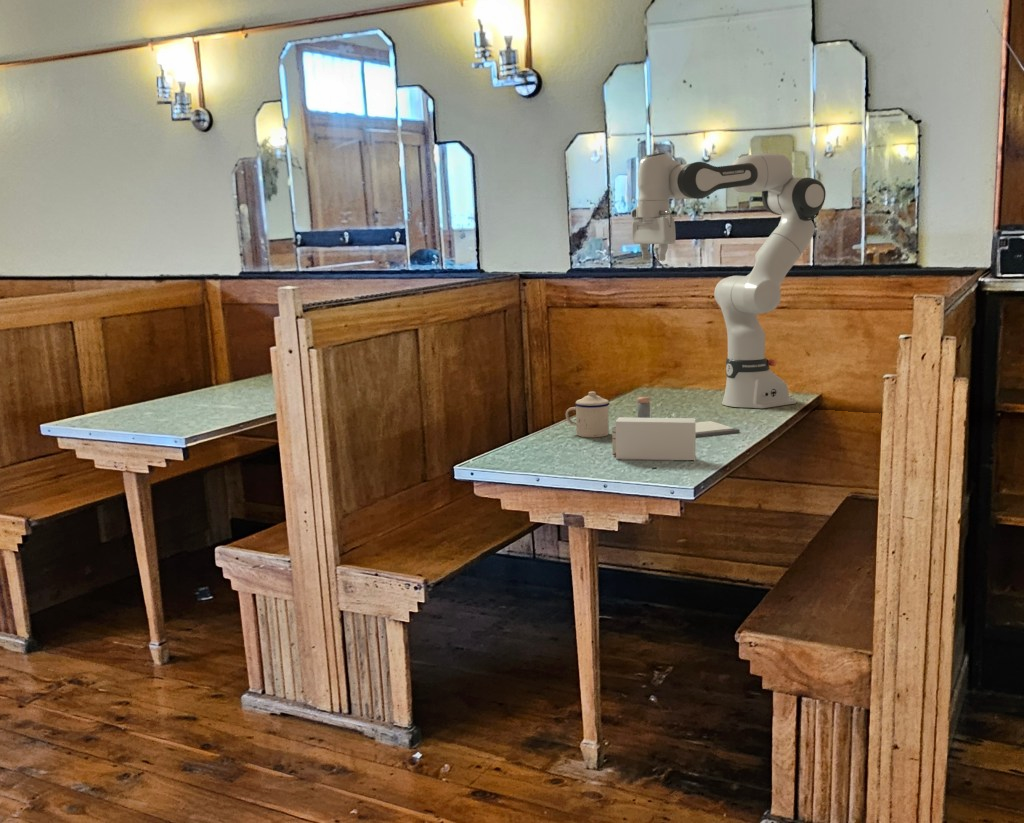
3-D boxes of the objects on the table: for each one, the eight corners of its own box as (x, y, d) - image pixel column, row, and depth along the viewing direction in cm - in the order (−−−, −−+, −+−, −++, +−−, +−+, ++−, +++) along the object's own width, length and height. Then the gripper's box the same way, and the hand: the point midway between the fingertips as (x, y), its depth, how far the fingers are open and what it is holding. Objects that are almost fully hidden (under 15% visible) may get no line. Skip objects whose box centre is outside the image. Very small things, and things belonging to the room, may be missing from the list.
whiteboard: (712, 423, 292) (712, 420, 291) (739, 432, 279) (739, 428, 278) (631, 432, 283) (631, 428, 283) (655, 441, 270) (655, 437, 270)
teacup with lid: (613, 432, 284) (613, 389, 282) (604, 438, 276) (604, 394, 274) (571, 430, 288) (570, 388, 286) (561, 436, 280) (560, 393, 278)
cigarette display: (696, 456, 252) (696, 418, 250) (695, 461, 246) (695, 422, 245) (613, 455, 256) (613, 417, 255) (610, 460, 251) (610, 421, 249)
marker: (646, 422, 297) (646, 396, 295) (652, 424, 293) (652, 398, 292) (635, 423, 295) (635, 397, 294) (641, 425, 292) (640, 399, 291)
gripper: (681, 210, 290) (681, 260, 293) (647, 212, 309) (647, 259, 312) (661, 210, 288) (661, 261, 291) (628, 212, 307) (628, 260, 310)
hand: (653, 260), depth 301 cm, fingers open, 8 cm apart
